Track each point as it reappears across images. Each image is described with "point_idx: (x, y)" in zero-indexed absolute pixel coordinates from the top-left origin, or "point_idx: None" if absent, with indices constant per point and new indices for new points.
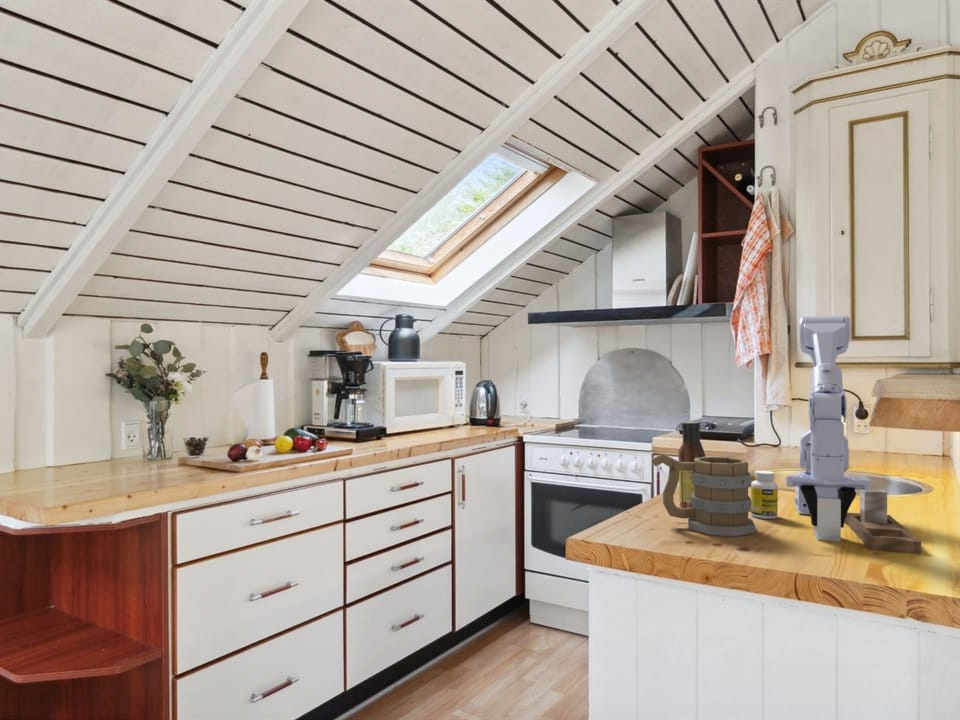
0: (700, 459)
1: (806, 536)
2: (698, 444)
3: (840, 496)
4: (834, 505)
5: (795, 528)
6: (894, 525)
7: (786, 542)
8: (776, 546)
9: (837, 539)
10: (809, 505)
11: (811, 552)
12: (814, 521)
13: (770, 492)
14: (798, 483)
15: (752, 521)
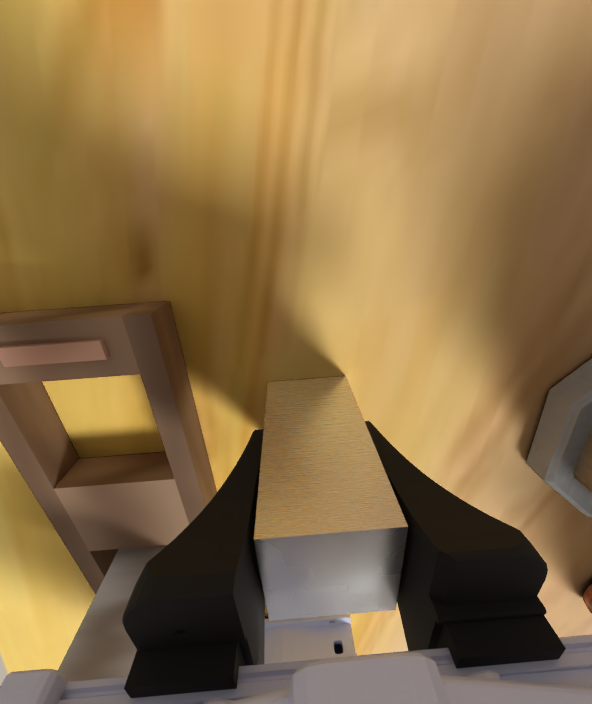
0: None
1: (374, 412)
2: None
3: (251, 582)
4: (293, 495)
5: None
6: (86, 537)
7: (470, 301)
8: (535, 214)
9: (278, 385)
10: (430, 480)
11: (408, 154)
12: (371, 429)
13: None
14: (590, 674)
15: (562, 452)
